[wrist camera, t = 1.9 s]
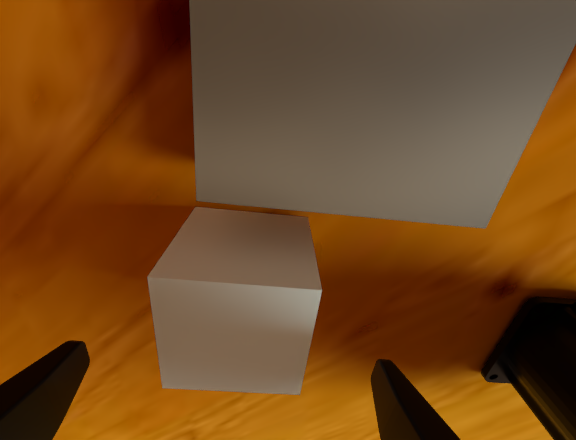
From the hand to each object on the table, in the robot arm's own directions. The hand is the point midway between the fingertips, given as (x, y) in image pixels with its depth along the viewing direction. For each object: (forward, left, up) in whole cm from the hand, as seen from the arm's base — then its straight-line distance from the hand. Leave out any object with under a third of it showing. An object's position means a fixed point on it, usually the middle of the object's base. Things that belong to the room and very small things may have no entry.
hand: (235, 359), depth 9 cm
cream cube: (0, 0, -6) cm, 6 cm away
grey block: (+9, -3, -6) cm, 11 cm away
